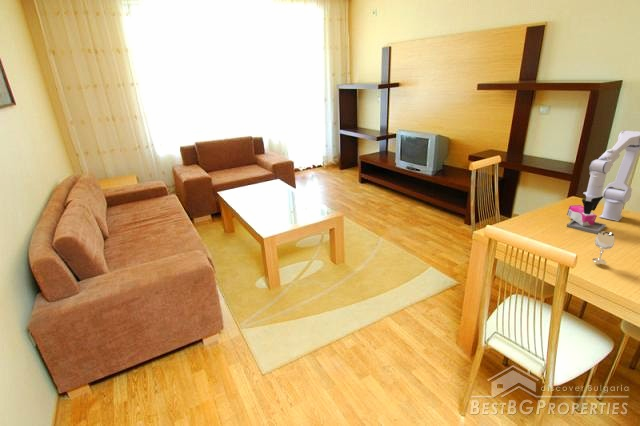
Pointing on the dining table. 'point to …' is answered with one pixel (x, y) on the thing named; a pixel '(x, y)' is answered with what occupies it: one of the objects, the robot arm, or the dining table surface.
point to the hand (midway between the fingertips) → (589, 211)
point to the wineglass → (603, 244)
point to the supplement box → (581, 215)
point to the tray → (587, 227)
